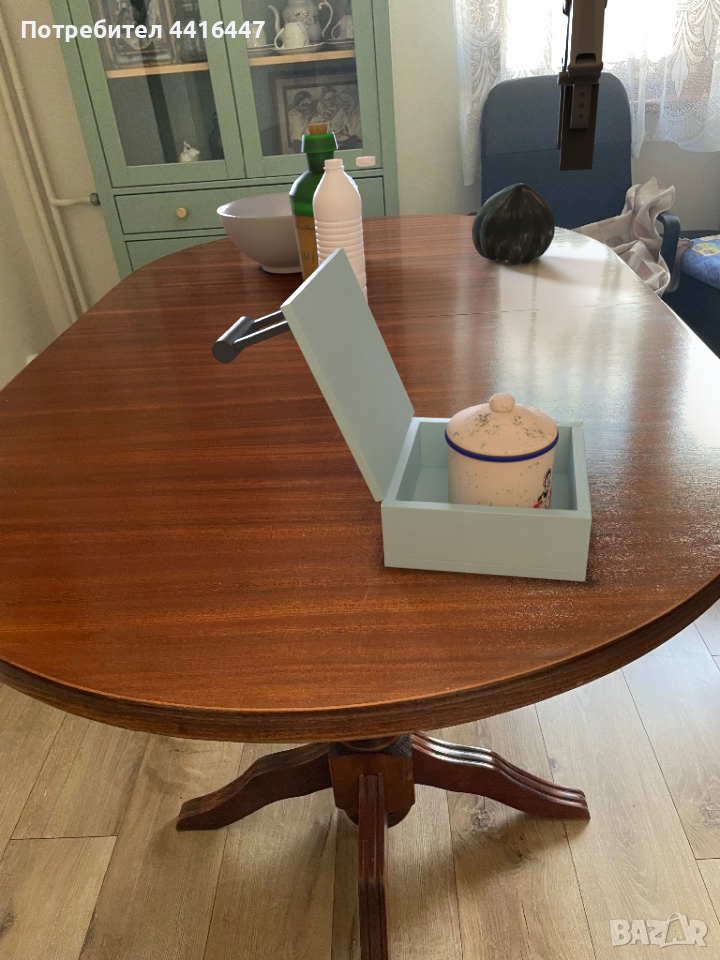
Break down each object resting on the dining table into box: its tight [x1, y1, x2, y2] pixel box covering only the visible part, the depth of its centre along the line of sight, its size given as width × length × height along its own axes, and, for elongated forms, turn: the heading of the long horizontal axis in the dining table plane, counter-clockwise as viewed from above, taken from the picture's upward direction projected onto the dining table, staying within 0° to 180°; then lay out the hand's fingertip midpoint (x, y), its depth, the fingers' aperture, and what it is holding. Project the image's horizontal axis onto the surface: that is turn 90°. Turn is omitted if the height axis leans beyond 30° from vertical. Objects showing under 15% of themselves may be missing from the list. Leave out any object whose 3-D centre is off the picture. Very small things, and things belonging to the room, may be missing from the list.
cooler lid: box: [211, 247, 415, 503], centre depth 62 cm, size 17×16×10 cm
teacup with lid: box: [445, 392, 559, 509], centre depth 62 cm, size 12×9×12 cm
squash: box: [471, 182, 556, 266], centre depth 136 cm, size 14×15×15 cm
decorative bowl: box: [216, 191, 302, 274], centre depth 145 cm, size 27×27×12 cm
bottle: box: [289, 122, 359, 283], centre depth 113 cm, size 11×11×28 cm
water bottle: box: [313, 155, 376, 305], centre depth 100 cm, size 9×6×25 cm
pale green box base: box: [380, 416, 593, 583], centre depth 64 cm, size 16×16×6 cm
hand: (572, 158), depth 69 cm, fingers open, 13 cm apart
